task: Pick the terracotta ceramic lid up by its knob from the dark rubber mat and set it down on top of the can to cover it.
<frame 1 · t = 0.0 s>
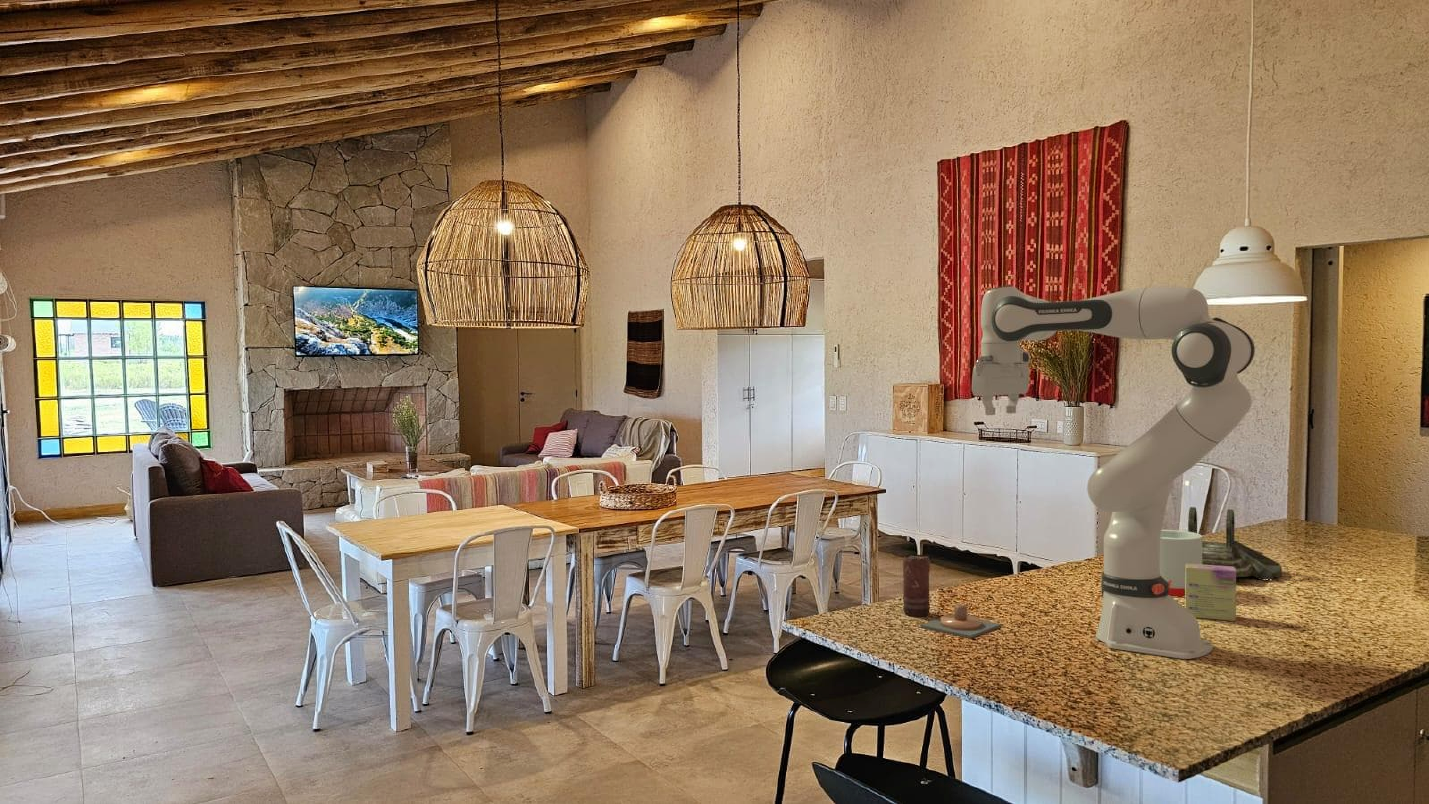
hand: (1000, 414, 224), 48 cm above the kitchen island, fingers open, 8 cm apart
lid: (960, 624, 216), point 1 cm above the kitchen island, touching mat
can: (917, 614, 228), on the kitchen island
box: (1210, 617, 221), on the kitchen island
container: (1170, 590, 248), on the kitchen island
mat: (960, 627, 216), on the kitchen island
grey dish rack: (1212, 571, 270), on the kitchen island
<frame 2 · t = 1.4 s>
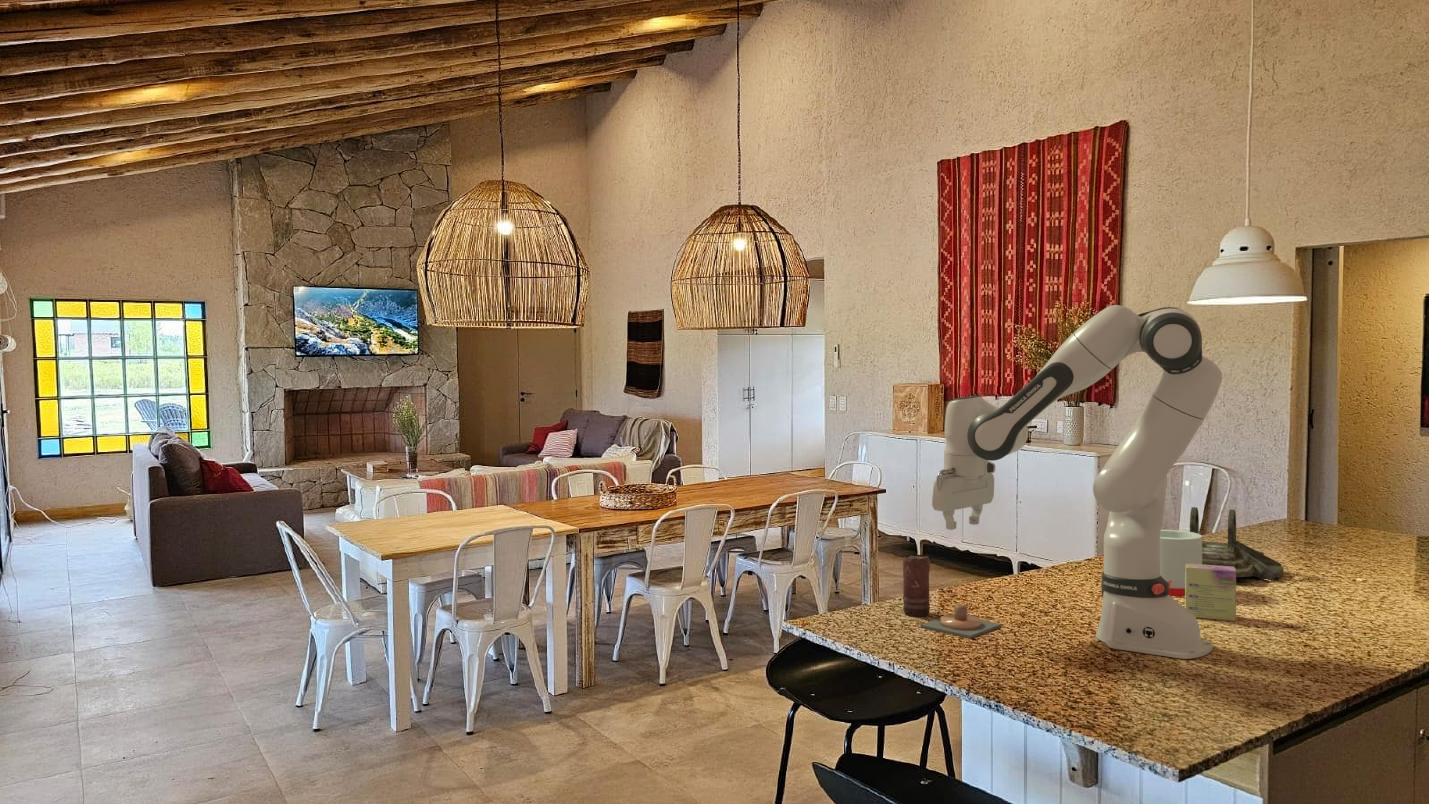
hand: (962, 526, 217), 23 cm above the kitchen island, fingers open, 8 cm apart
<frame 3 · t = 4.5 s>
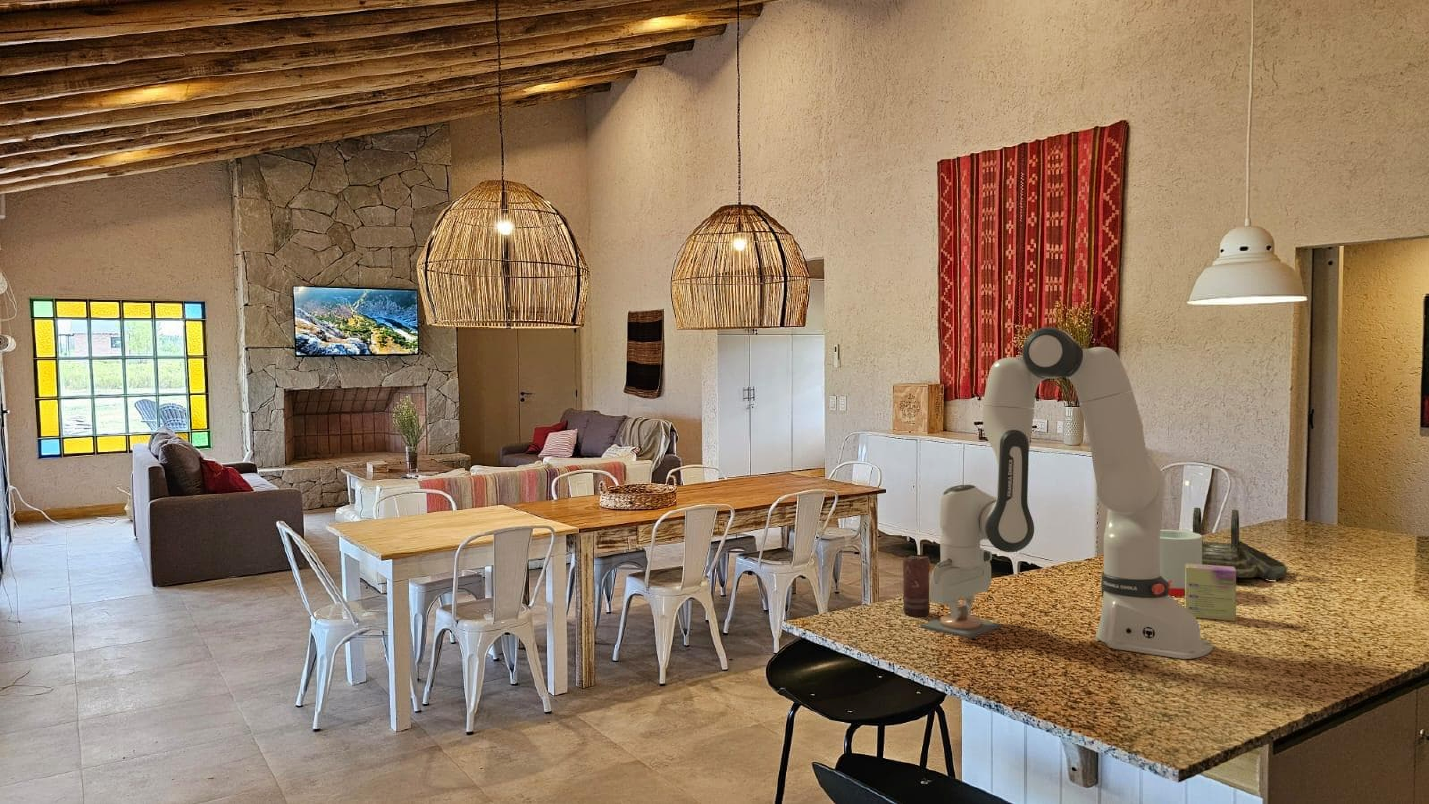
hand: (960, 616, 216), 2 cm above the kitchen island, fingers closed on lid, 3 cm apart
lid: (960, 624, 216), point 1 cm above the kitchen island, touching gripper, mat
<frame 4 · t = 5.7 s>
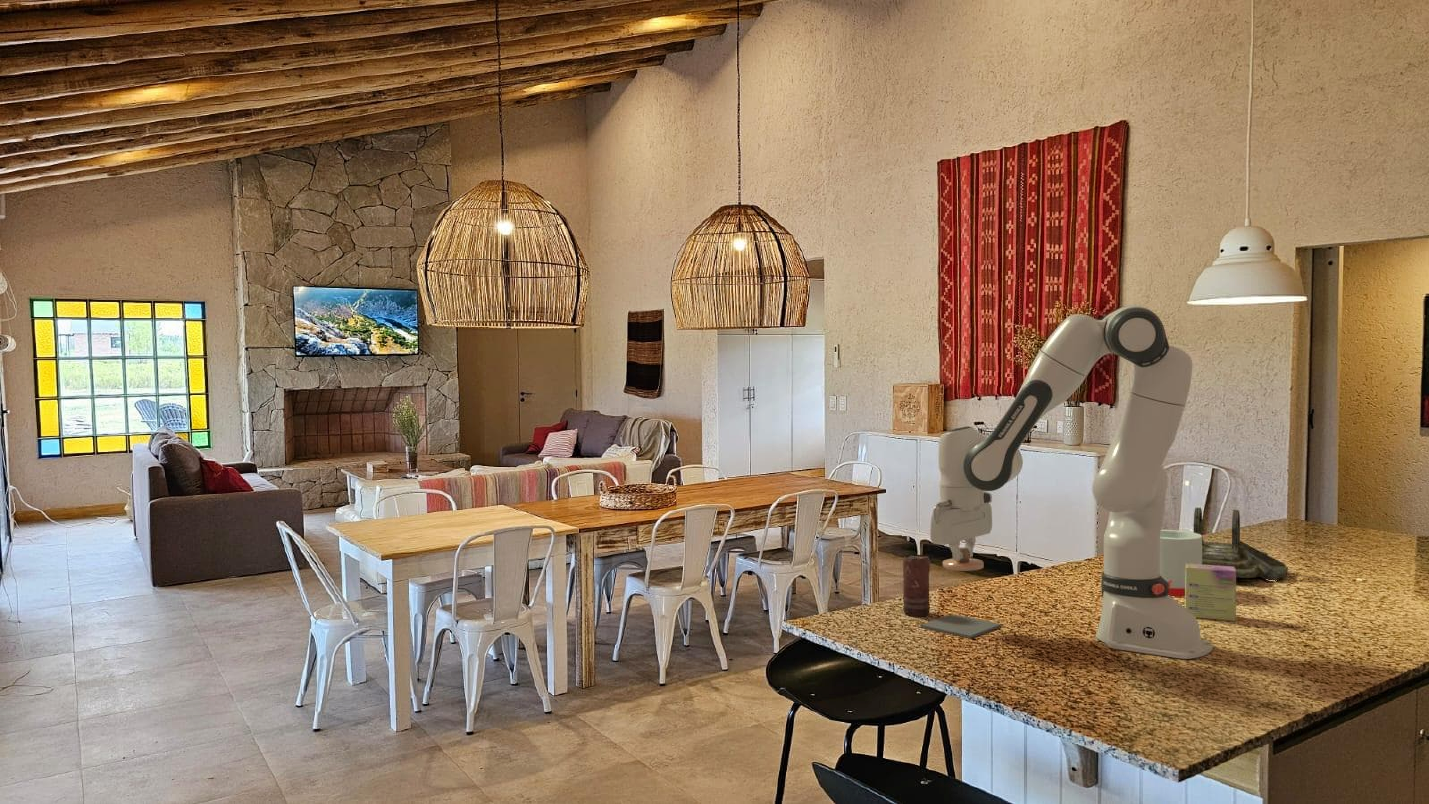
hand: (963, 558, 215), 16 cm above the kitchen island, fingers closed on lid, 3 cm apart
lid: (963, 567, 215), point 14 cm above the kitchen island, touching gripper
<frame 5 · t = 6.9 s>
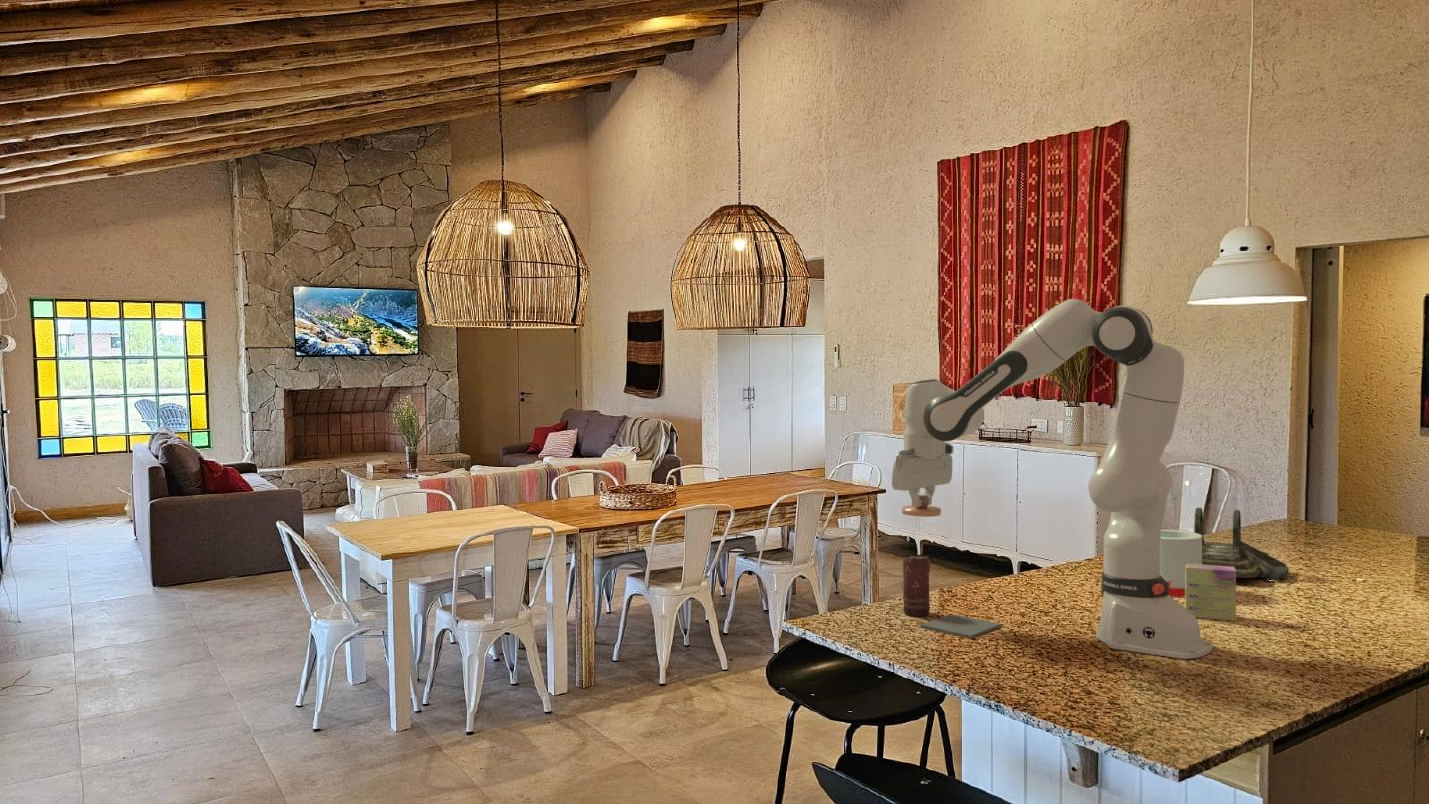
hand: (921, 505, 225), 27 cm above the kitchen island, fingers closed on lid, 3 cm apart
lid: (921, 513, 225), point 25 cm above the kitchen island, touching gripper
when the fingers open (18 cm above the kitchen island, at t = 9.2 s): lid drops 2 cm, resting on can.
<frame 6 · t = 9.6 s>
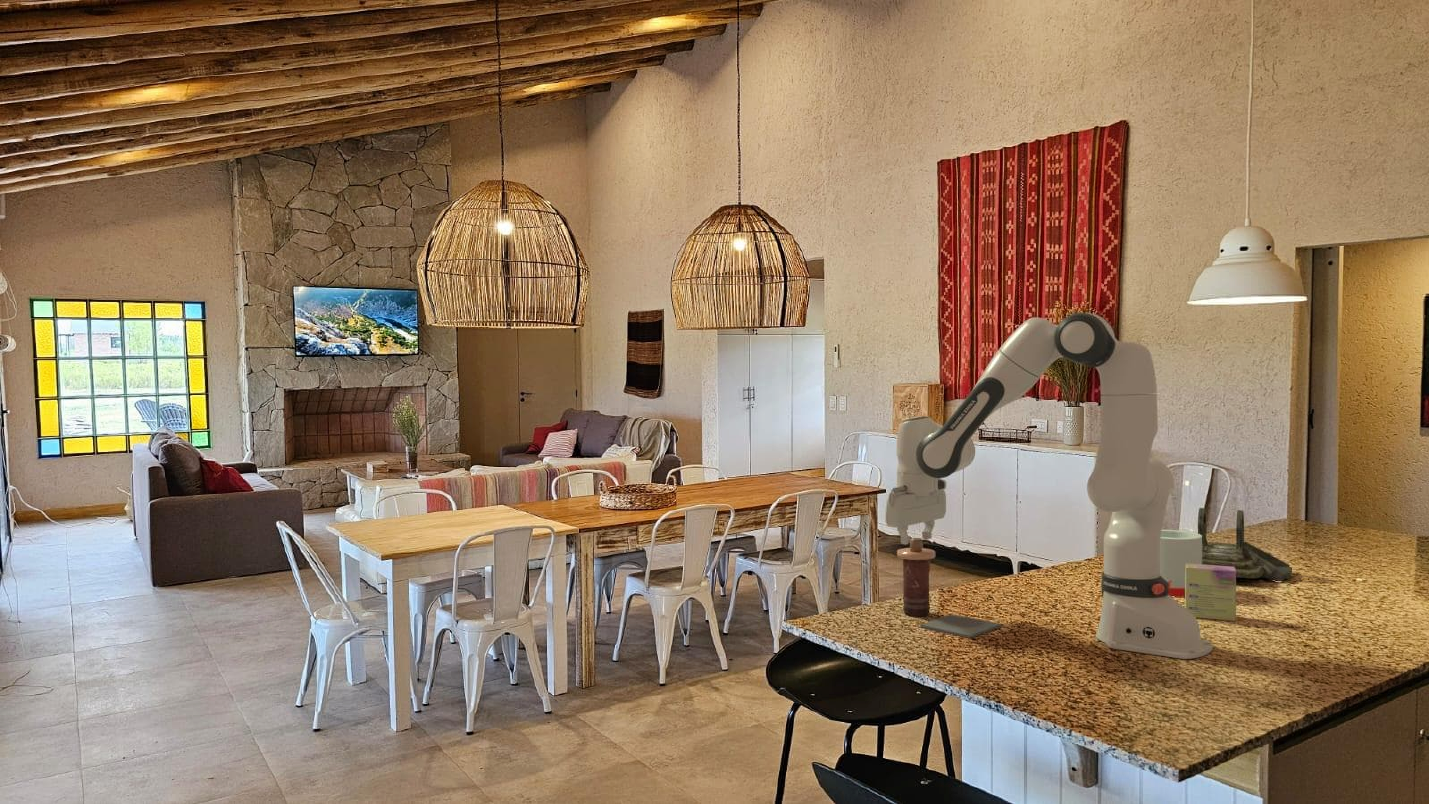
hand: (916, 541, 228), 18 cm above the kitchen island, fingers open, 7 cm apart
lid: (916, 556, 228), point 14 cm above the kitchen island, touching can
can: (917, 614, 228), on the kitchen island, touching lid
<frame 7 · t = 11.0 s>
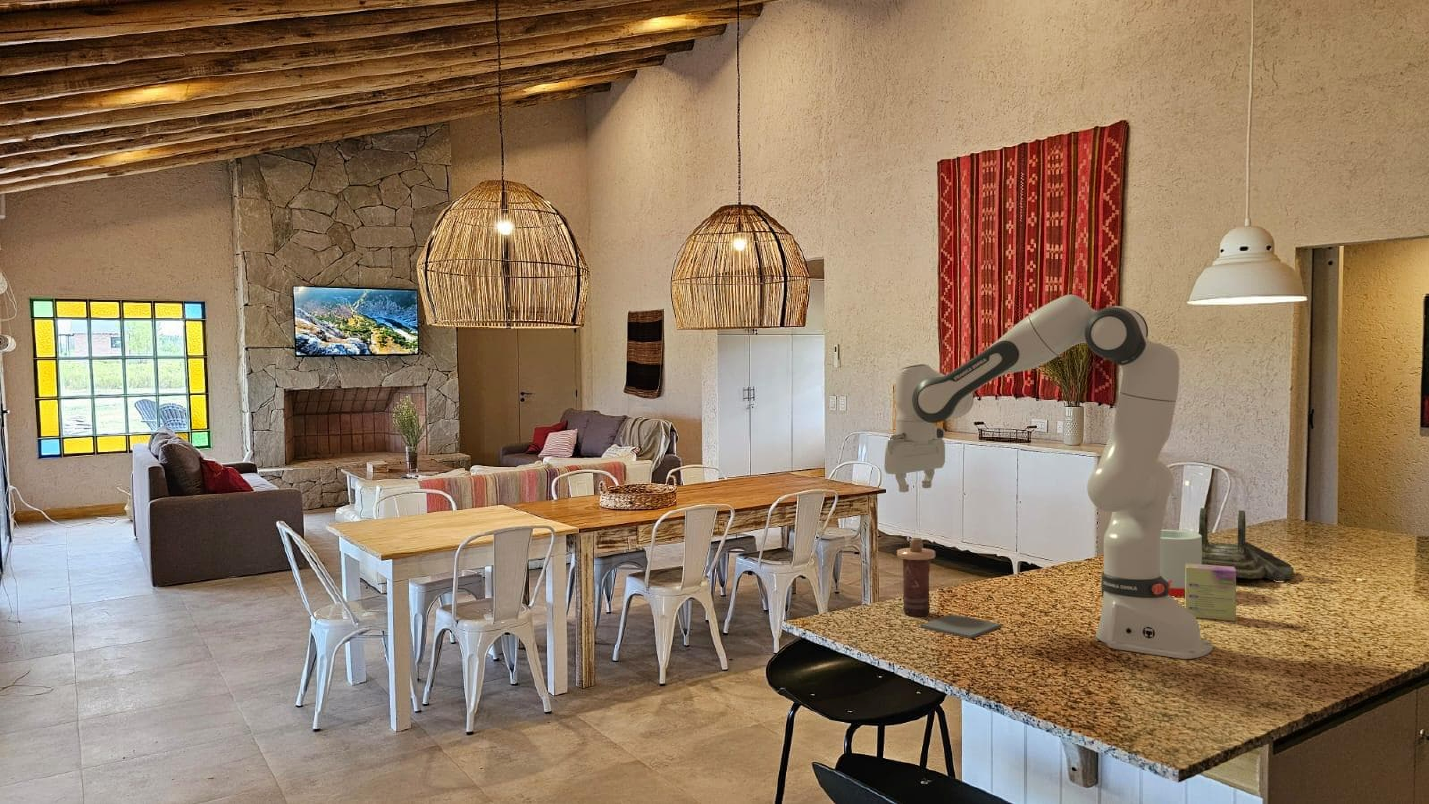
hand: (915, 490, 227), 30 cm above the kitchen island, fingers open, 8 cm apart
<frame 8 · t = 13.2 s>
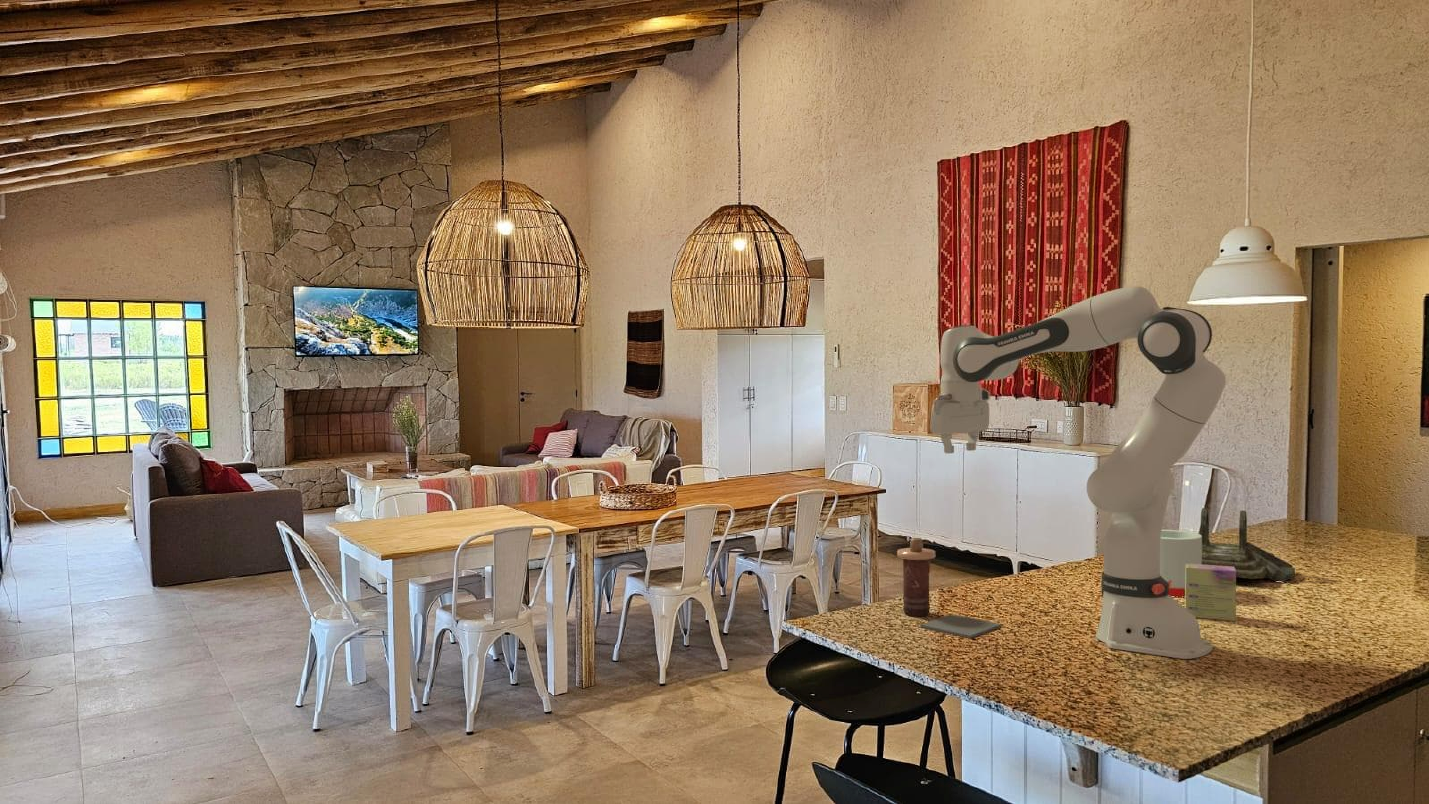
hand: (960, 451, 226), 39 cm above the kitchen island, fingers open, 8 cm apart
at the end: lid 0.0 cm from the can (horizontally); lid point 14.0 cm above the kitchen island; can tilted 0° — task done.
